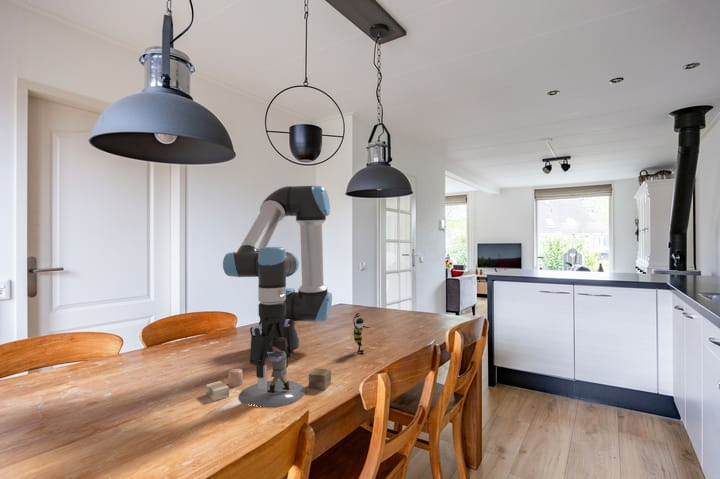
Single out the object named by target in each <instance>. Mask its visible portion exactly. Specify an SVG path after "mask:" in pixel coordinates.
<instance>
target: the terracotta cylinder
mask: <svg viewBox="0 0 720 479" xmlns="http://www.w3.org/2000/svg"><path fill="white" fill-rule="evenodd" d="M243 371H244V370H243V369H242V368H233V369H230V370H228V375H227V376H228V379H227V380H228V382H227V383H228V385H227V386H228V387H230V386H231V388H236V386H237V387H240V385H241V386H242V385H243V384H244V383H243V380H244V379H243V377H244V376H243Z"/></svg>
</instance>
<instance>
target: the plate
mask: <svg viewBox="0 0 720 479" xmlns="http://www.w3.org/2000/svg"><path fill="white" fill-rule="evenodd" d="M287 381H288V383H289V388H290V390H283V389H282V388H284V387H285V386H284V385H283V384H284V383H282V382H281V381H280V380H277V381H276V383H275V389H274V391H275V392H274V393H271V392H267V391H268V390H270V385H271V382H272V380H267V390H263V389H260V388H258V382H257V383H254V384H252V385H249V386H247V387H245V388H243V390H242V391H241V392H239V394H238V400H239V401H240V402H241V404H243V403H244V404H243V405H245V404H247V405H246V406H248V404H249V405H251V404H252V406H253V405H254V404H255V406H256V405H257V406H258V407H260V406H261V407H273V408H278V406H281V407H284V406H283V405H285V406H289V405H292V404H293V402H294V403H296V402H298V401H299V399H300V400H301V399H302V398H304V397H305V395H306V394H305V393H306V389H305V387H304V386H303V384H301V383H299V382H296V381H290V380H287ZM288 404H289V405H288ZM252 406H251V407H252ZM258 407H257V408H258Z"/></svg>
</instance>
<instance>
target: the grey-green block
mask: <svg viewBox="0 0 720 479" xmlns="http://www.w3.org/2000/svg"><path fill="white" fill-rule="evenodd" d="M206 394H207V395H206ZM205 395H206V396H208V398H210V399H211V400H212V399H213V401H214V402H216V400H217V401H220V400H223V398H224V399H226V397H227V398H230V386H229V385H227V384H226V383H224V382H223V381H221V380H219V381H216V382H215V381H214V382H212V383H207V384H206V385H205ZM219 399H220V400H219Z"/></svg>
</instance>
